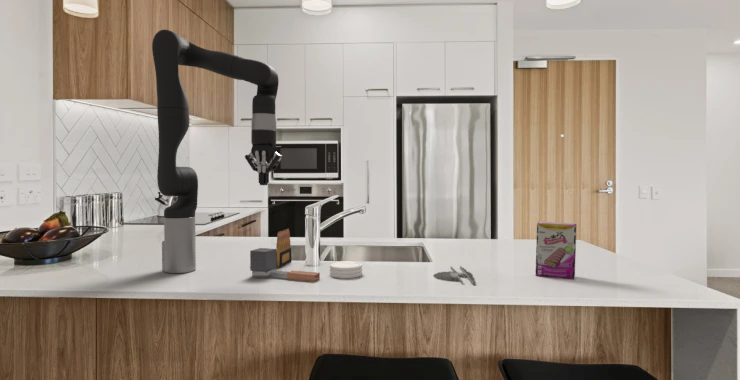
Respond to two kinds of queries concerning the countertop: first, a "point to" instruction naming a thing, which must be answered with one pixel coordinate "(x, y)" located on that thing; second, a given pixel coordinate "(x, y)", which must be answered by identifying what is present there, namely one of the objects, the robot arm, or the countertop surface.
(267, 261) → the socket
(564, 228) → the candy bar box
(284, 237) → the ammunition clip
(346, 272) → the coaster
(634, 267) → the countertop surface
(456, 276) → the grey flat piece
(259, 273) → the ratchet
